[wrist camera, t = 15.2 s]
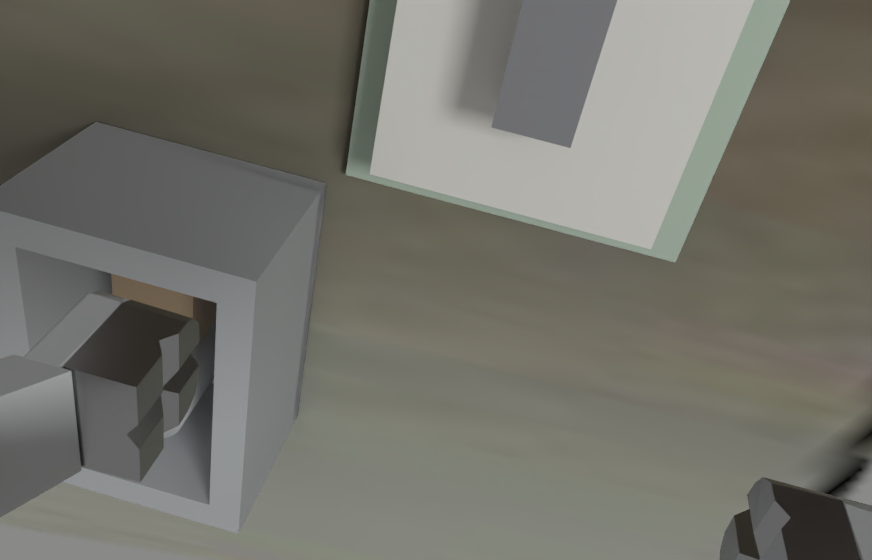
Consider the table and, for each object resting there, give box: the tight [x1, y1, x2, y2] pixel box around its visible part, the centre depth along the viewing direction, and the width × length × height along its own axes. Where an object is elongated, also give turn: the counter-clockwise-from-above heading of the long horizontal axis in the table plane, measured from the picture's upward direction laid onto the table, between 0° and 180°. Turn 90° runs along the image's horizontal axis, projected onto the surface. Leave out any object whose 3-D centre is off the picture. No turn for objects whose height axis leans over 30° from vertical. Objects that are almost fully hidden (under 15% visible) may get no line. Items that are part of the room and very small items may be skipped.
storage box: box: [0, 122, 326, 534], centre depth 40 cm, size 16×12×9 cm
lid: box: [370, 0, 754, 249], centre depth 29 cm, size 17×13×5 cm
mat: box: [346, 0, 790, 262], centre depth 32 cm, size 20×16×1 cm
